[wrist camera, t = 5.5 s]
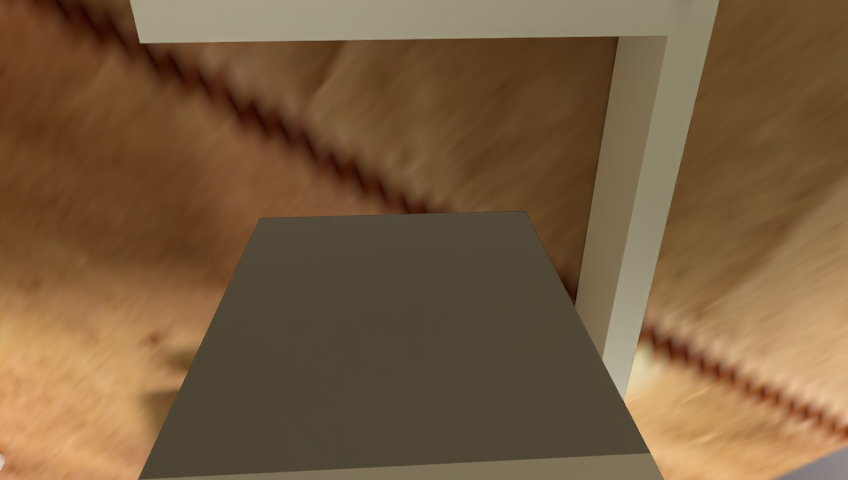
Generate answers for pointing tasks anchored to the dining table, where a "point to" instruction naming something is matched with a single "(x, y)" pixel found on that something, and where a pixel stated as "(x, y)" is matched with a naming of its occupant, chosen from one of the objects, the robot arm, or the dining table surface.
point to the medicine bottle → (2, 461)
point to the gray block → (398, 361)
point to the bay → (525, 18)
